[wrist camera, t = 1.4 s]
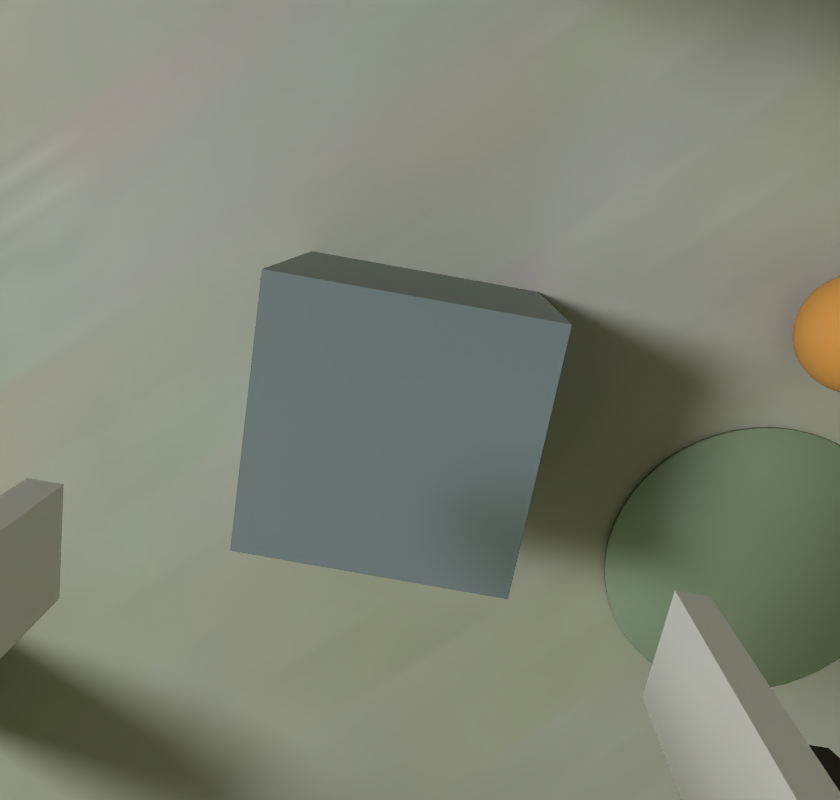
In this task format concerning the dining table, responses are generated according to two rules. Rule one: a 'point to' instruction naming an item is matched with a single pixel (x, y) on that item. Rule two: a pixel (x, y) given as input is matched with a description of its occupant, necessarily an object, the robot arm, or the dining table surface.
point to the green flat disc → (737, 546)
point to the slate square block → (395, 421)
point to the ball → (820, 334)
